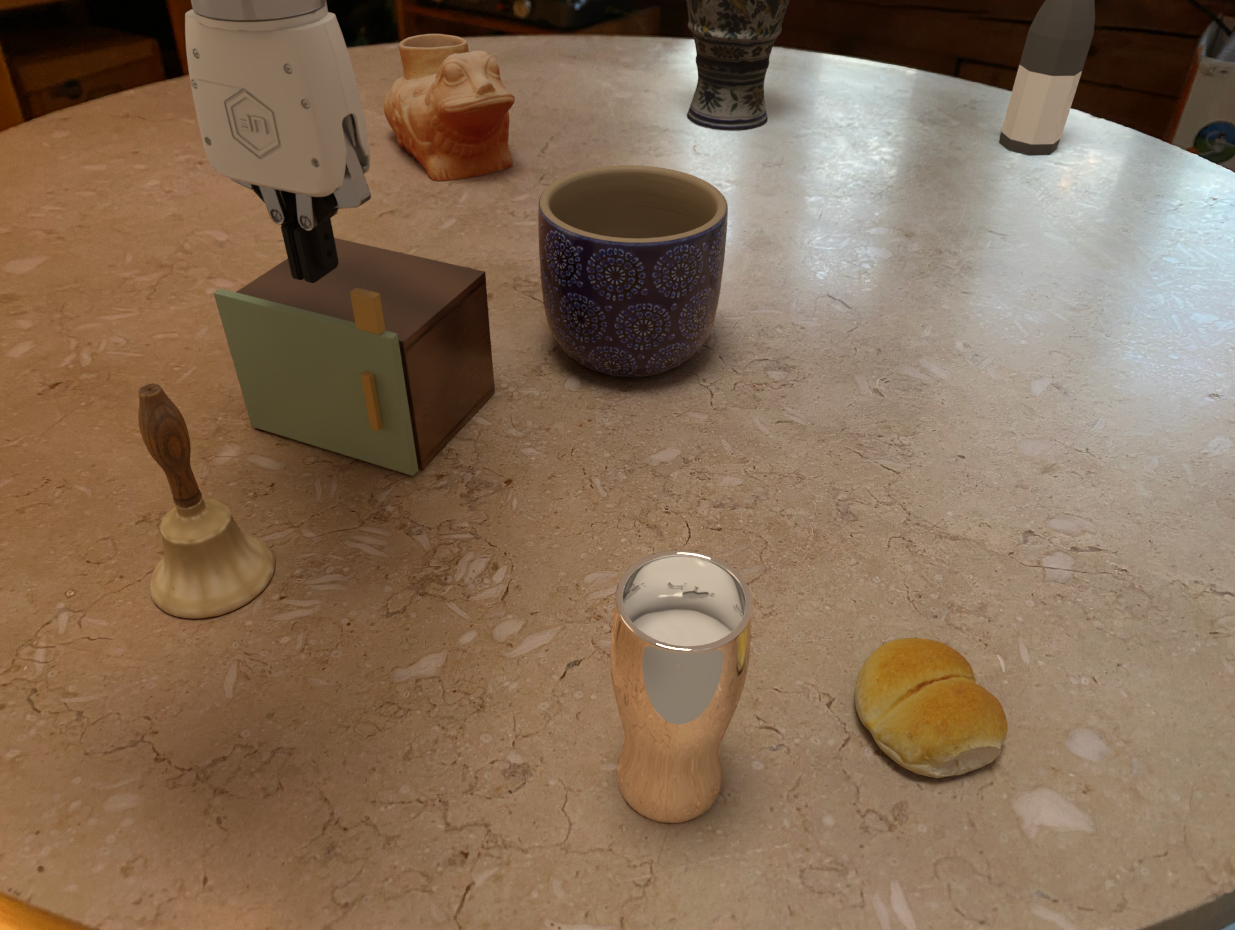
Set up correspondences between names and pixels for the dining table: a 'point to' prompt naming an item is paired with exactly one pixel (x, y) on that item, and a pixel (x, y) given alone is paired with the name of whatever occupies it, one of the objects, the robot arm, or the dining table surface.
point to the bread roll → (929, 708)
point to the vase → (732, 60)
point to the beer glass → (677, 678)
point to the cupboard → (410, 328)
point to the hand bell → (197, 528)
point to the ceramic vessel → (450, 108)
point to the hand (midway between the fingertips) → (316, 272)
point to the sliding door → (322, 376)
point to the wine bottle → (1048, 76)
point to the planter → (631, 266)
